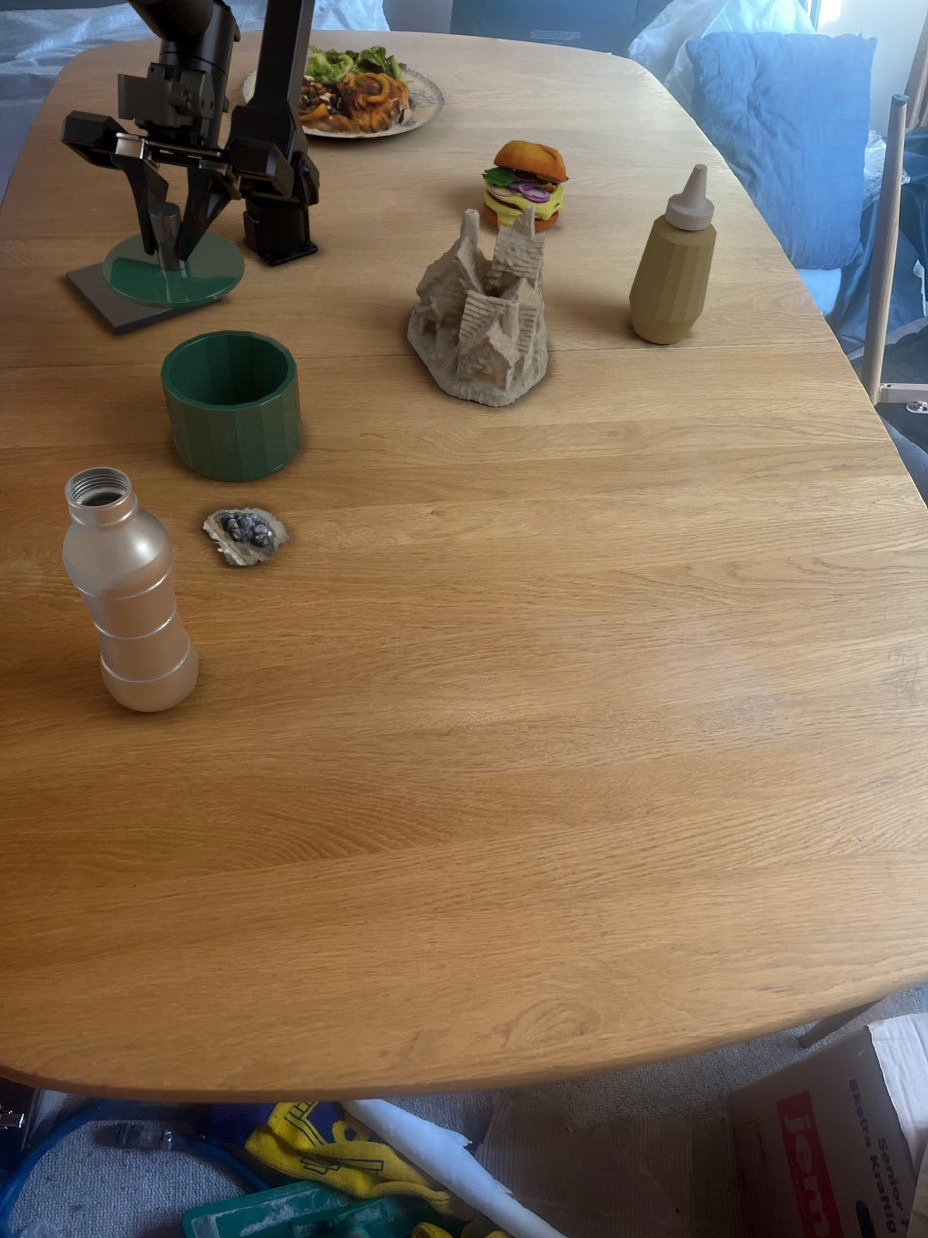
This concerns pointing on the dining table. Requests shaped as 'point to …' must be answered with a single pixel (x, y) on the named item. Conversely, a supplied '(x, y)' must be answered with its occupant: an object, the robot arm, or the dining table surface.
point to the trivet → (117, 302)
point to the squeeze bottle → (675, 265)
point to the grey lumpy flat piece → (246, 534)
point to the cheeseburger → (525, 184)
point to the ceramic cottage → (484, 314)
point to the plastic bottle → (128, 591)
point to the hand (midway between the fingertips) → (165, 256)
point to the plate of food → (360, 94)
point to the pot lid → (172, 265)
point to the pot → (233, 404)
